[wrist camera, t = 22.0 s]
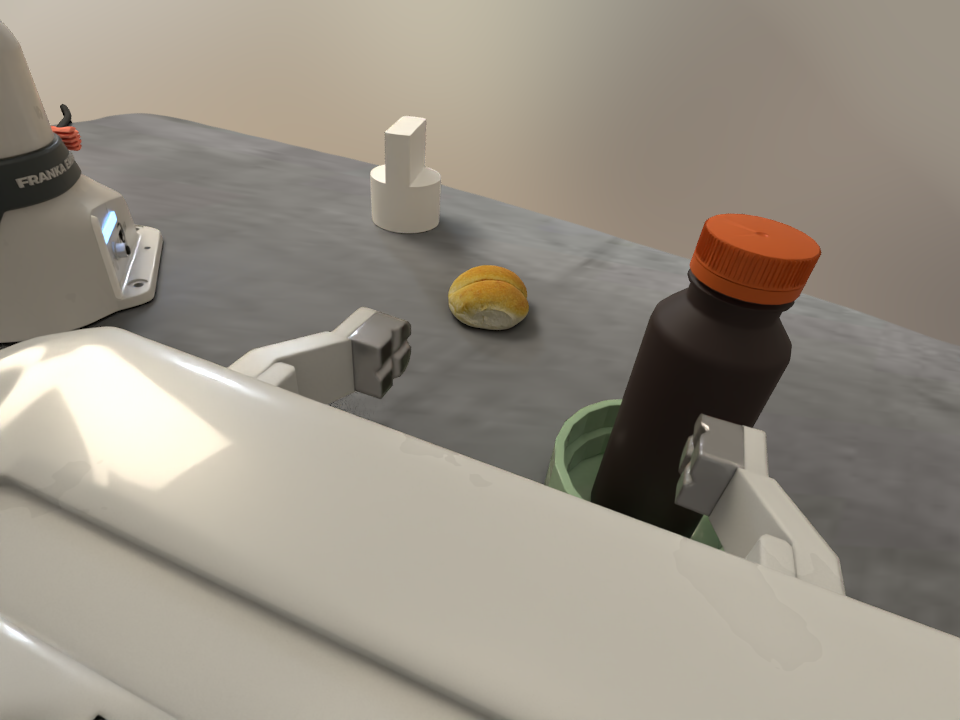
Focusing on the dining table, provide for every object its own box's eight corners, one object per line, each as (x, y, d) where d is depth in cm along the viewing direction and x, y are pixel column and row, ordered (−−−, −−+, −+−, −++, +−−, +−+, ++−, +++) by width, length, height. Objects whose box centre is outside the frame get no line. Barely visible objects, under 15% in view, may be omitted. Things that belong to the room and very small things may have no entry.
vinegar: (579, 536, 34) (680, 246, 22) (597, 462, 39) (686, 195, 27) (689, 575, 32) (862, 287, 20) (692, 492, 37) (831, 224, 25)
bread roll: (523, 289, 59) (528, 257, 57) (528, 335, 52) (534, 300, 50) (449, 283, 59) (452, 250, 57) (444, 328, 52) (447, 293, 49)
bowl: (522, 453, 40) (532, 403, 37) (677, 441, 42) (698, 394, 39) (576, 623, 30) (596, 574, 27) (775, 594, 32) (813, 547, 29)
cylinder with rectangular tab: (382, 202, 76) (381, 112, 68) (444, 211, 75) (449, 121, 68) (362, 227, 69) (358, 129, 61) (431, 237, 68) (434, 139, 61)
